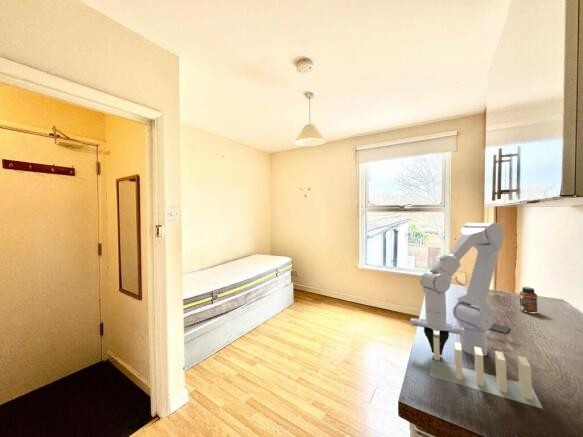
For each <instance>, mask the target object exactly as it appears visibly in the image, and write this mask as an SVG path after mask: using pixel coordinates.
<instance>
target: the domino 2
mask: <svg viewBox="0 0 583 437" xmlns="http://www.w3.org/2000/svg"><path fill="white" fill-rule="evenodd" d="M473 356H474V371H475V377H476V382H477V385H481V386H484V373H485V372H484V356H483V354H482V350H481V348H479V347H475V346H474V355H473Z"/></svg>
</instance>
